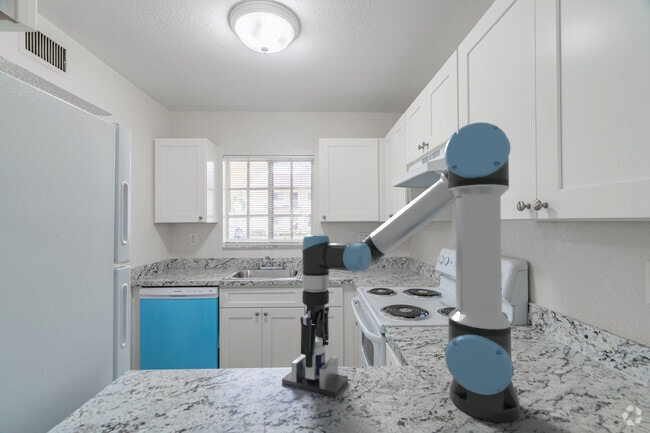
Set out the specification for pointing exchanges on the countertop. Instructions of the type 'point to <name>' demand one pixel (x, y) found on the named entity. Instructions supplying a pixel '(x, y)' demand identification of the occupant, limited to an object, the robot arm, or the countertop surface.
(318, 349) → the pill bottle
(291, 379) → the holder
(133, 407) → the countertop surface
